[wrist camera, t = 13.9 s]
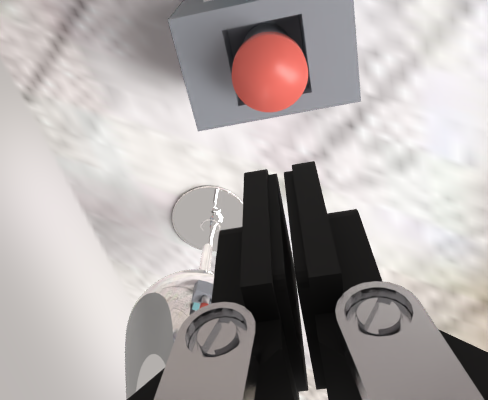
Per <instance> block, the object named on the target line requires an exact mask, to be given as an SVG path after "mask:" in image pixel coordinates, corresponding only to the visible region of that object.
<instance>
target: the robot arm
mask: <svg viewBox="0 0 488 400" xmlns="http://www.w3.org/2000/svg"><path fill="white" fill-rule="evenodd" d="M292 170H293V171H289V172H284V179H285V188H286V197H287V206H288V215H289V224H290V233H291V241H292V250H293V257H292V252H291V246H290V241H289V236H288V230H287V225H286V220H285V214H284V209H283V204H282V198H281V193H280V188H279V182H278V177H277V174H272V175H268V171H267V169H265V170H260V171H254V172H248V173H244V194H243V220H242V227H238V228H231V229H225V230H220V231H219V236H218V245H217V255H216V264H215V273H214V282H213V291H212V300H211V304H209V305H207V306H204V307H201V308H200V309H198V310H197V311H195V312H194V313H192V314H191V315H190V316H189V317H188V318H187V319H186V320H185V321H184V322H183V324H182V325H181V327H180V329H179V331H178V333H177V336H176V339H175V342H174V344H173V347H172V350H171V353H170V355H169V358H168V361H167V364H166V366H165V368H164V369H162V370H161V371H160V372H159V373H158V374H157V375H155V376H154V377H153V378H152V379H151V380H149V381H148V382H147V383H146V384H145V385H144V386H142V387H141V388H140V389H139V390H138V391H136V392H135V393H134V394H133V395H132V396H131V397H129V398H128V399H127V400H299V391H308V383H307V374H306V365H305V356H304V347H303V338H302V330H301V321H300V312H299V303H298V294H299V299H300V305H301V310H302V315H303V321H304V326H305V331H306V336H307V342H308V347H309V352H310V358H311V363H312V368H313V374H314V379H315V384H316V389H326V388H327V393H328V399H329V400H488V352H486V351H483V350H481V349H479V348H477V347H475V346H473V345H471V344H469V343H466V342H464V341H462V340H460V339H458V338H456V337H454V336H451V335H449V334H447V333H445V332H443V331H441V330H439V329H438V328H437V327H436V325H435V324H434V322H433V321H432V319H431V318H430V316H429V315H428V313H427V312H426V310H425V309H424V307H423V306H422V304H421V303H420V301H419V300H418V299H417V298H416V297H415V296H414V294H413V293H412V292H410V291H409V290H407V289H405V288H404V287H402V286H399V285H396V284H393V283H390V282H382V279H381V276H380V273H379V270H378V268H377V265H376V262H375V259H374V256H373V253H372V250H371V247H370V244H369V241H368V239H367V236H366V233H365V230H364V227H363V224H362V221H361V218H360V215H359V213H358V210H357V209H354V210H347V211H341V212H335V213H328V214H327V211H326V207H325V203H324V199H323V195H322V190H321V186H320V182H319V178H318V174H317V170H316V166H315V162H314V161H313V162H307V163H301V164H295V165H292ZM293 259H294V263H293ZM294 268H295V269H294ZM296 282H297V285H296ZM297 288H298V294H297Z"/></svg>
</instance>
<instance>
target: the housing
mask: <svg viewBox="0 0 488 400" xmlns="http://www.w3.org/2000/svg"><path fill="white" fill-rule="evenodd" d="M168 23H169V27H170V30H171V34H172V38H173V41H174V45H175V49H176V52H177V56H178V60H179V63H180V67H181V71H182V74H183V78H184V82H185V85H186V89H187V93H188V96H189V100H190V104H191V107H192V111H193V115H194V118H195V122H196V126H197V129H198V131H202V130H208V129H213V128H219V127H224V126H230V125H235V124H241V123H246V122H251V121H257V120H262V119H268V118H273V117H279V116H284V115H289V114H295V113H300V112H306V111H311V110H317V109H322V108H328V107H333V106H338V105H344V104H349V103H355V102H360V101H361V96H360V82H359V69H358V55H357V42H356V28H355V15H354V1H353V0H183V2H182V3H181V4H180V5H179V7H178V8H177V9H176V10H175V12H174V13H173V14H172V15H171V17H170V18H169V19H168ZM261 24H274V25H277V26H279V27H281V28H282V29H283V30H285V32H286V33H287V34H288V36H289V37H290V38H291V39H293V40H294V41H295V42H296V43H297V44H298V45H299V47H300V48H301V50H302V52H303V54H304V57H305V59H306V62H307V66H308V81H307V85H306V88H305V90H304V92H303V94H302V95H301V97H300V98H299V99H298V100H297V101H296V102H295V103H294V104H293V105H291V106H290V107H288V108H286V109H284V110H281V111H277V112H261V111H257V110H255V109H252V108H250V107H249V106H247V105H246V104H245V103H244V102H242V101H241V99H240V98H239V97H238V95H237V94H236V92H235V90H234V87H233V84H232V66H233V61H234V57H235V55H236V52H237V51H238V49H239V47H240V46H241V45H242V44H243V41H244V39H245V37H246V35H247V34H248V32H249V31H250V30H252V29H253V28H254V27H256V26H258V25H261Z"/></svg>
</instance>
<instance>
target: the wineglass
mask: <svg viewBox="0 0 488 400" xmlns="http://www.w3.org/2000/svg"><path fill="white" fill-rule="evenodd" d="M242 220H243V202H242V200H241V199H240V198H239V197H238V196H236V195H235V194H234V193H232V192H230V191H228V190H226V189H223V188H220V187H214V186H203V187H198V188H195V189H192V190H190V191H188V192H186V193H185V194H184V195H182V196H181V197H180V198H179V200H178V201H177V202H176V204H175V206H174V209H173V213H172V222H173V226H174V229H175V231H176V233H177V234H178V235H179V237H180V238H181V239H182V240H183V241H184V242H186V243H187V244H189V245H190V246H192V247H194V248H197V249H200V250H202V254H201V260H200V266H199V269H191V270H183V271H179V272H176V273H173V274H170V275H168V276H165V277H163V278H162V279H160V280H158V281H157V282H155V283H154V284H152V285H151V286H150V287H149V288H148V289H147V290H146V291H145V292H144V293H143V294H142V295H141V296H140V297H139V299H138V300H137V302H136V303H135V305H134V307H133V309H132V311H131V314H130V317H129V320H128V325H127V330H126V342H125V372H126V374H125V375H126V398H127V399H128V398H129V397H131V396H132V395H133V394H134V393H135V392H136V391H138V390H139V389H140V388H141V387H142V386H144V385H145V384H146V383H147V382H148V381H149V380H151V379H152V378H153V377H154V376H155V375H157V374H158V373H159V372H160V371H161V370H162V369H164V368H165V366H166V364H167V361H168V358H169V355H170V353H171V350H172V347H173V344H174V342H175V339H176V336H177V333H178V331H179V329H180V327H181V325H182V324H183V322H184V321H185V320H186V319H187V318H188V317H189V316H190V315H191V314H192V313H194V312H195V311H197V310H198V309H200V308H201V307H204V306H207V305H209V304H211V300H212V291H213V282H214V273H215V272H213V271H210V266H211V257H212V251H217V245H218V236H219V231H220V230H225V229H231V228H238V227H242Z"/></svg>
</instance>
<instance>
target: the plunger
mask: <svg viewBox="0 0 488 400" xmlns="http://www.w3.org/2000/svg"><path fill="white" fill-rule="evenodd" d="M307 81H308V66H307V62H306V59H305V57H304V54H303V52H302V50H301V48H300V47H299V45H298V44H297V43H296V42H295V41H294V40H293V39H291V38H290V37H289V36H288V34H287V33H286V32H285V30H283V29H282V28H281V27H279V26H277V25H274V24H261V25H258V26H256V27H254V28H253V29H252V30H250V31H249V32H248V34H247V35H246V37H245V39H244V41H243V44H242V45H241V46H240V47H239V49H238V51H237V52H236V55H235V57H234V61H233V66H232V84H233V87H234V90H235V92H236V94H237V95H238V97H239V98H240V99H241V101H242V102H244V103H245V104H246V105H247V106H249V107H250V108H252V109H255V110H257V111H261V112H277V111H281V110H284V109H286V108H288V107H290V106H291V105H293V104H294V103H295V102H296V101H297V100H298V99H299V98H300V97H301V95H302V94H303V92H304V90H305V88H306V85H307Z"/></svg>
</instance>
